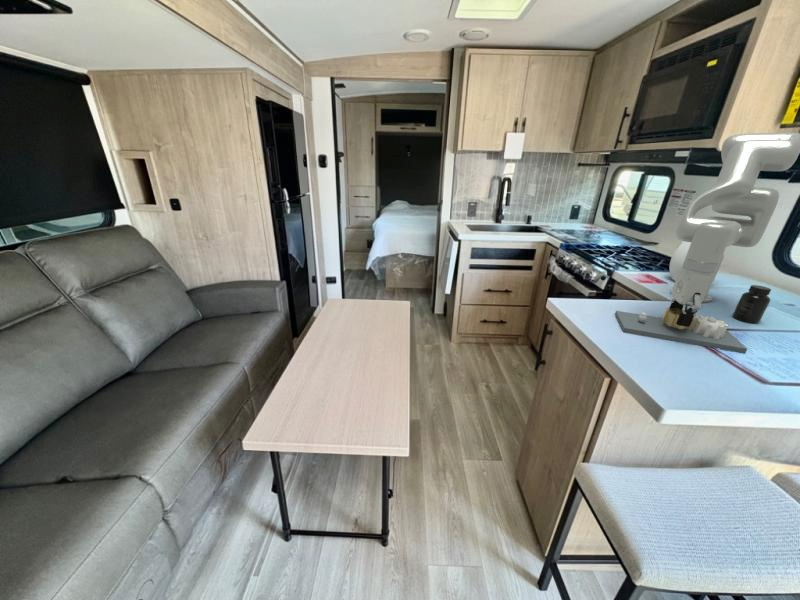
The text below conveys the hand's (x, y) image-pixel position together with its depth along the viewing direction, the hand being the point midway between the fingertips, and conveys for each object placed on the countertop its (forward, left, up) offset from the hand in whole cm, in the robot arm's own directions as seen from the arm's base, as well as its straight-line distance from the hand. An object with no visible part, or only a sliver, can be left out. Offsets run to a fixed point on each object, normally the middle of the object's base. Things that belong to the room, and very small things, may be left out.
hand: (677, 319), depth 102 cm
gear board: (0, 0, -4) cm, 4 cm away
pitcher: (-65, +22, -5) cm, 69 cm away
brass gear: (0, 0, -1) cm, 1 cm away
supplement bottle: (-22, +27, -5) cm, 35 cm away
